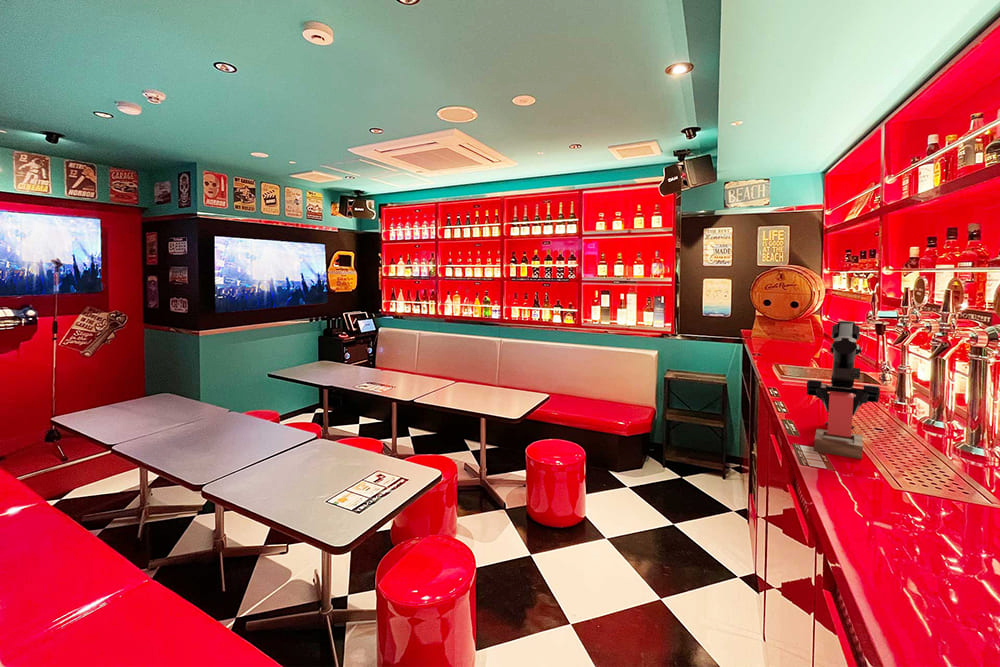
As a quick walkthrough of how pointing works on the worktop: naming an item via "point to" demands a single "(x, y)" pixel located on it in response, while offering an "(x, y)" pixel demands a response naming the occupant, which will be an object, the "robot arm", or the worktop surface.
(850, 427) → the red brick
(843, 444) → the walnut base
